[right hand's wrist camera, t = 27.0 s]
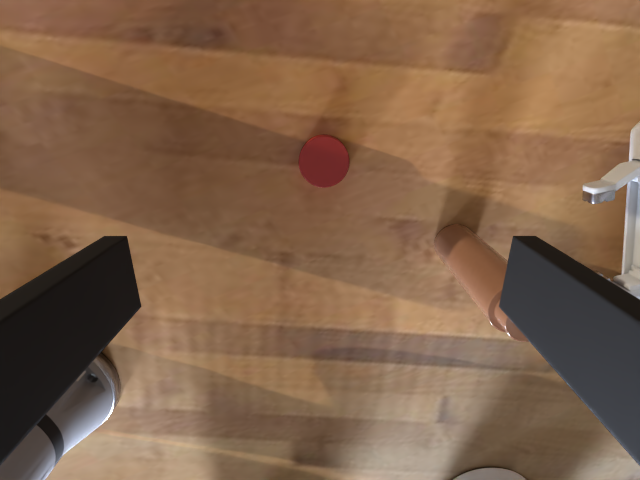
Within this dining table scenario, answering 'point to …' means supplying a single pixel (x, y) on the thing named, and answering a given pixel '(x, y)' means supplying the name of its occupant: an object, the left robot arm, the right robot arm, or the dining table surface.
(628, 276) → the left robot arm
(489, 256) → the jar
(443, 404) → the dining table surface
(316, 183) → the lid
